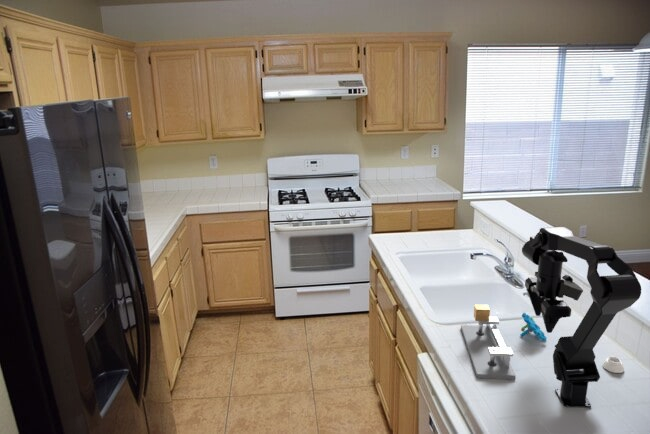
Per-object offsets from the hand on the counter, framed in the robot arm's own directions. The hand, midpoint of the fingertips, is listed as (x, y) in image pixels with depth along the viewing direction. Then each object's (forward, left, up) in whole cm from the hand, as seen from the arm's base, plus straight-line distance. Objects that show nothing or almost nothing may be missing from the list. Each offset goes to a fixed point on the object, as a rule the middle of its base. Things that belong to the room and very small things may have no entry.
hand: (543, 323), depth 129 cm
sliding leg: (+12, +12, -10) cm, 20 cm away
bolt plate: (+4, +14, -12) cm, 19 cm away
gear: (+13, -2, -12) cm, 18 cm away
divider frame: (+5, +12, -11) cm, 17 cm away
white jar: (-2, -19, -12) cm, 23 cm away
